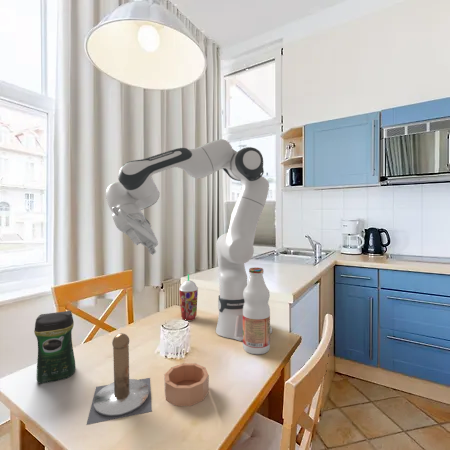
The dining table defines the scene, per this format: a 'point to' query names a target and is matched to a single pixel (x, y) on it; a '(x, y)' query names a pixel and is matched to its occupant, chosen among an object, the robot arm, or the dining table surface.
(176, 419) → the dining table surface
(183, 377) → the bowl
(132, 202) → the robot arm
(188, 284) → the smoothie
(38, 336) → the coffee jar
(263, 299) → the fruit juice
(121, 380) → the peg on round base
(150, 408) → the mat
